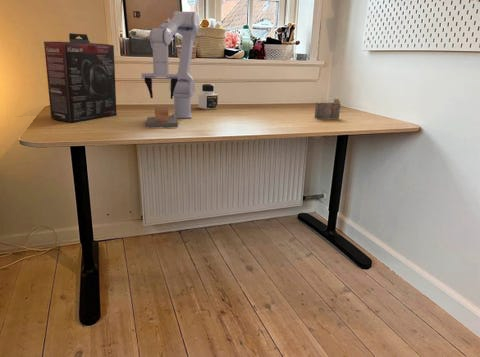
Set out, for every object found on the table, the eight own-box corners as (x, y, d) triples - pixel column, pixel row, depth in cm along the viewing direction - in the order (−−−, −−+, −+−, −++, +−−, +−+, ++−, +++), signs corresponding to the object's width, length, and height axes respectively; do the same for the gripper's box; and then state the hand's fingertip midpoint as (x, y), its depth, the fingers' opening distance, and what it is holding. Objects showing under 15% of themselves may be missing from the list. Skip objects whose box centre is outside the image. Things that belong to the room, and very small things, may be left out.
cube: (156, 118, 155) (155, 106, 154) (168, 118, 156) (168, 106, 154) (155, 121, 151) (154, 108, 149) (168, 121, 151) (167, 108, 150)
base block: (148, 123, 159) (147, 117, 158) (177, 123, 161) (177, 117, 160) (146, 129, 148) (145, 122, 147) (177, 129, 150) (177, 123, 149)
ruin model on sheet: (335, 118, 187) (338, 98, 184) (338, 119, 184) (341, 99, 181) (314, 118, 184) (316, 98, 181) (316, 119, 182) (318, 99, 179)
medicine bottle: (206, 109, 194) (207, 85, 190) (198, 107, 198) (198, 83, 194) (217, 108, 198) (218, 84, 194) (209, 106, 203) (209, 83, 199)
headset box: (98, 112, 175) (92, 34, 164) (119, 115, 169) (114, 35, 158) (50, 119, 154) (39, 31, 143) (72, 123, 149) (62, 32, 138)
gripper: (140, 61, 141) (141, 99, 146) (180, 63, 144) (180, 100, 148) (142, 61, 148) (143, 96, 153) (180, 62, 150) (180, 97, 155)
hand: (161, 98), depth 151 cm, fingers open, 7 cm apart
